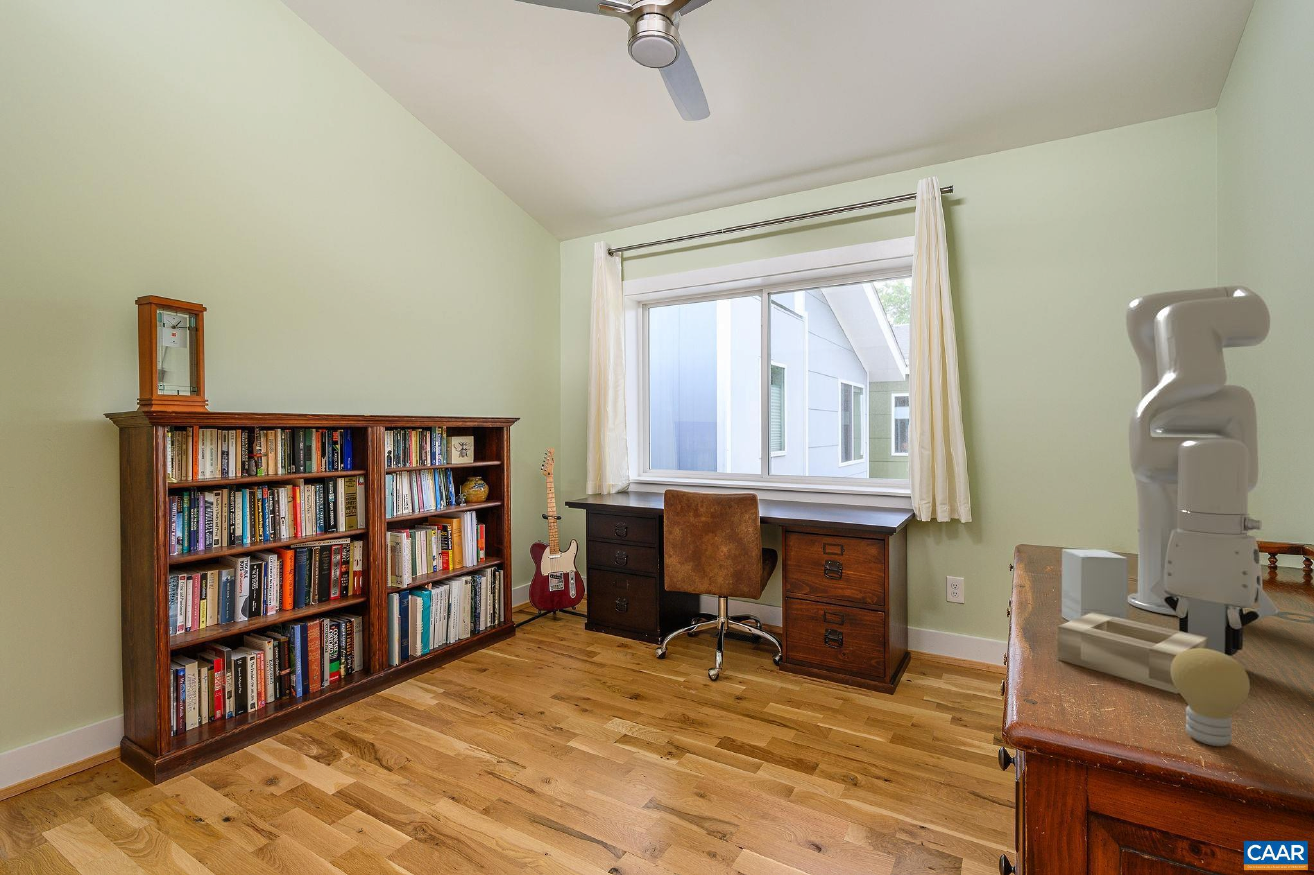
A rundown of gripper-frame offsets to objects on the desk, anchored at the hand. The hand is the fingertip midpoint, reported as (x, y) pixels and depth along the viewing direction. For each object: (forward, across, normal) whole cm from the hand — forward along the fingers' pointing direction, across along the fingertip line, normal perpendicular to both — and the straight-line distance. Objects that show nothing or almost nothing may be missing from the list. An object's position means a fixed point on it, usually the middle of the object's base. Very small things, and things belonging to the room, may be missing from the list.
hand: (1209, 647), depth 88 cm
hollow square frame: (+2, +6, +11) cm, 13 cm away
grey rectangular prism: (+2, 0, 0) cm, 2 cm away
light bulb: (+2, -7, +29) cm, 30 cm away
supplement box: (+3, +17, -6) cm, 18 cm away
